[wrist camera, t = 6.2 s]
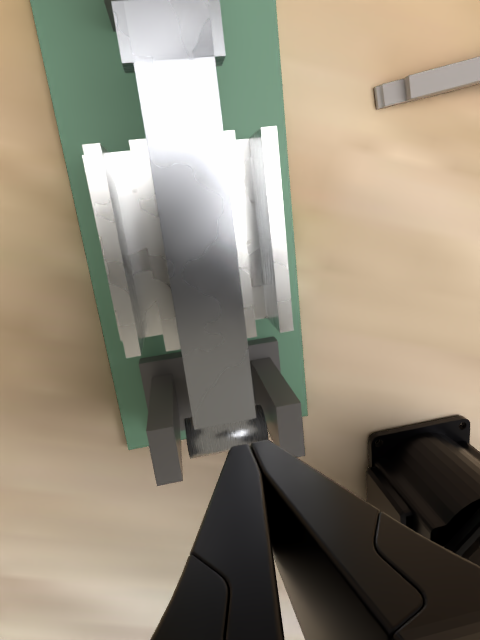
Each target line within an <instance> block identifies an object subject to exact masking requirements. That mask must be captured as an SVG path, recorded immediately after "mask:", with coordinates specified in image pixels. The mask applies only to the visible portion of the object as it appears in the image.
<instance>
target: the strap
mask: <svg viewBox="0 0 480 640" xmlns="http://www.w3.org/2000/svg"><path fill="white" fill-rule="evenodd" d="M111 3H112V9H113V15H114V21H115V26H116V32H117V38H118V44H119V50H120V55H121V61H122V65H123V68H124V71H125V73H135V74H136V80H137V86H138V92H139V98H140V104H141V110H142V116H143V122H144V128H145V135H146V141H147V147H148V153H149V159H150V165H151V171H152V177H153V183H154V189H155V195H156V201H157V207H158V213H159V219H160V225H161V231H162V237H163V243H164V249H165V255H166V261H167V267H168V274H169V280H170V286H171V292H172V298H173V304H174V310H175V316H176V322H177V328H178V334H179V340H180V346H181V352H182V358H183V364H184V370H185V376H186V382H187V388H188V394H189V400H190V406H191V413H192V417H190V418H185V419H184V423H185V432H186V439H187V445H188V451H189V456H190V459H191V458H196V457H201V456H206V455H211V454H217V453H222V452H227V451H229V450H230V448H231V447H233V446H237V445H243V444H249V445H251V443H253V442H258V441H263V440H268V431H267V424H266V420H265V415H264V412H263V409H262V406H261V405H255V403H254V394H253V385H252V376H251V368H250V359H249V350H248V342H247V333H246V324H245V316H244V307H243V298H242V290H241V281H240V272H239V263H238V255H237V246H236V237H235V229H234V220H233V211H232V203H231V194H230V185H229V176H228V168H227V159H226V150H225V142H224V133H223V124H222V116H221V107H220V98H219V90H218V81H217V72H216V66H222V64H223V62H224V59H225V56H226V54H225V44H224V35H223V26H222V17H221V7H220V0H125V1H111Z"/></svg>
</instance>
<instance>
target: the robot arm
mask: <svg viewBox="0 0 480 640" xmlns="http://www.w3.org/2000/svg"><path fill="white" fill-rule="evenodd" d="M461 423H462V424H461ZM460 424H461V425H460ZM459 425H460V426H459ZM377 440H379V442H378V443H375V442H376V441H377ZM469 440H470V422H469V420H468V419H466V418H465V417H463V416H455V417H450V418H445V419H440V420H435V421H430V422H425V423H420V424H415V425H410V426H405V427H401V428H396V429H391V430H386V431H381V432H376V433H373V434H372V435H371V436H370V437H369V439H368V453H369V468H368V469H367V471H366V482H367V502H366V501H365V500H363V499H361V498H360V497H358V496H357V495H355V494H354V493H352V492H350V491H349V490H347V489H346V488H344V487H342V486H341V485H339V484H338V483H336V482H334V481H333V480H331V479H330V478H328V477H327V476H325V475H323V474H322V473H320V472H319V471H317V470H315V469H314V468H312V467H311V466H309V465H308V464H306V463H304V462H303V461H301V460H300V459H298V458H296V457H295V456H293V455H292V454H290V453H289V452H287V451H285V450H284V449H282V448H281V447H279V446H277V445H276V444H274V443H273V442H271V441H269V440H263V441H258V442H253V443H251V445H249V444H243V445H237V446H233V447H231V448H230V450H229V453H228V455H227V458H226V461H225V463H224V466H223V469H222V471H221V474H220V476H219V479H218V482H217V484H216V487H215V489H214V492H213V495H212V497H211V500H210V502H209V505H208V508H207V510H206V513H205V516H204V518H203V521H202V523H201V526H200V529H199V531H198V534H197V536H196V539H195V542H194V544H193V547H192V549H191V552H190V556H189V557H188V559H187V562H186V565H185V567H184V570H183V572H182V575H181V577H180V580H179V582H178V584H177V587H176V589H175V591H174V594H173V596H172V598H171V600H170V602H169V604H168V606H167V608H166V610H165V612H164V614H163V616H162V618H161V620H160V622H159V624H158V626H157V628H156V630H155V632H154V634H153V636H152V637H151V639H150V640H284V632H283V625H282V617H281V610H280V602H279V595H278V587H277V580H276V572H275V565H274V559H275V562H276V565H277V567H278V570H279V572H280V575H281V578H282V580H283V583H284V585H285V588H286V591H287V593H288V596H289V599H290V601H291V604H292V606H293V609H294V612H295V614H296V617H297V619H298V622H299V625H300V627H301V630H302V633H303V635H304V638H305V640H480V452H479V451H478V450H477V449H475V448H474V447H473V446H471V445H470V444H469ZM273 556H274V557H273Z"/></svg>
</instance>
